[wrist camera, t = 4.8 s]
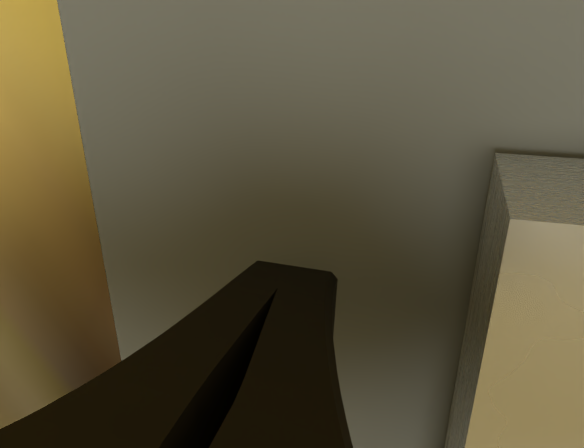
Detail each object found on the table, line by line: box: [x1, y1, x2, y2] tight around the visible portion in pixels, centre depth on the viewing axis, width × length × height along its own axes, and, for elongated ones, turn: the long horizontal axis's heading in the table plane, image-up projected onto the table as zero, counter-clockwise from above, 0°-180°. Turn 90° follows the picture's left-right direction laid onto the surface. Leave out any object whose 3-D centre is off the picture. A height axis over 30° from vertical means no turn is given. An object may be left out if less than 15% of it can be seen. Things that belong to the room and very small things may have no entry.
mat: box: [57, 0, 584, 448], centre depth 11 cm, size 15×16×1 cm
